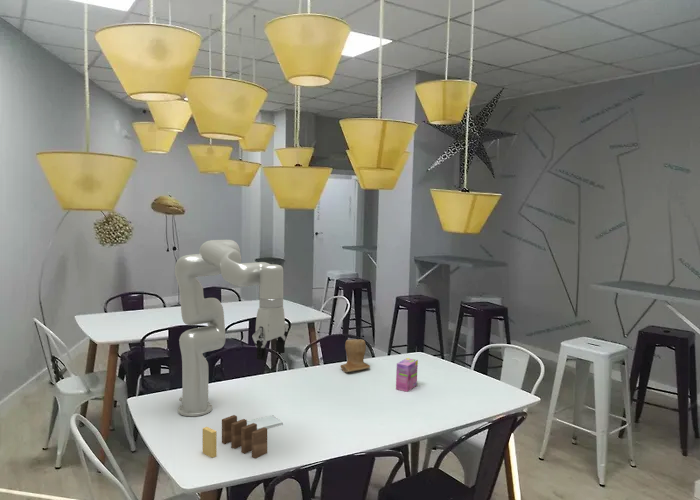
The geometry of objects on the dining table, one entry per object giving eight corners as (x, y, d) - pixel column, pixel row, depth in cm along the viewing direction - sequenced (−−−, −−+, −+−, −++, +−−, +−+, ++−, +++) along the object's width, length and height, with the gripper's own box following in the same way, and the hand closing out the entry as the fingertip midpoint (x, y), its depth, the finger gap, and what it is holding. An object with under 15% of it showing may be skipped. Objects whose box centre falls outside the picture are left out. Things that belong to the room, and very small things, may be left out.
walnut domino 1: (221, 443, 168) (221, 419, 168) (233, 438, 172) (234, 414, 172) (224, 444, 167) (224, 420, 167) (236, 439, 171) (237, 416, 171)
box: (407, 392, 220) (408, 365, 220) (395, 389, 223) (396, 363, 223) (417, 385, 229) (418, 359, 228) (405, 383, 232) (406, 357, 231)
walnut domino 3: (241, 452, 162) (241, 427, 162) (253, 446, 166) (253, 422, 165) (244, 453, 161) (244, 429, 161) (256, 448, 165) (256, 424, 164)
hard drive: (272, 414, 190) (241, 421, 183) (283, 421, 184) (251, 429, 176) (272, 418, 190) (241, 426, 183) (282, 426, 184) (251, 434, 177)
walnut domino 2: (231, 447, 165) (231, 423, 165) (243, 442, 169) (243, 418, 169) (234, 449, 164) (234, 424, 164) (246, 443, 168) (246, 420, 168)
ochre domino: (212, 457, 158) (212, 432, 157) (202, 452, 161) (202, 428, 161) (216, 456, 159) (216, 431, 159) (206, 451, 162) (206, 426, 162)
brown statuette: (358, 364, 261) (359, 335, 260) (373, 370, 251) (373, 340, 250) (334, 368, 252) (334, 338, 251) (348, 375, 242) (348, 344, 241)
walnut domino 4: (251, 457, 159) (251, 432, 158) (263, 451, 163) (263, 427, 162) (254, 458, 158) (255, 433, 157) (267, 453, 162) (267, 428, 161)
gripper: (278, 298, 173) (278, 348, 174) (244, 306, 158) (244, 360, 159) (296, 300, 169) (296, 351, 170) (263, 308, 154) (263, 364, 155)
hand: (271, 355), depth 164 cm, fingers open, 9 cm apart
